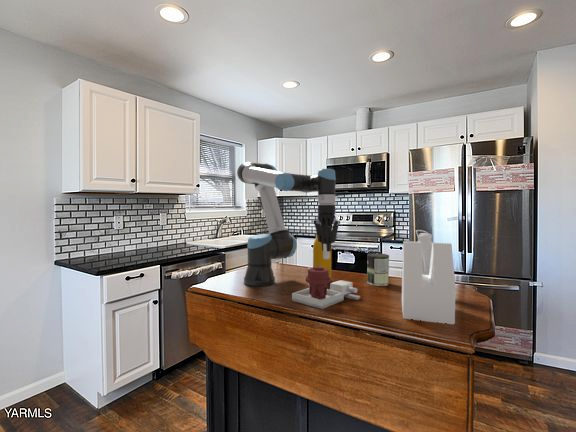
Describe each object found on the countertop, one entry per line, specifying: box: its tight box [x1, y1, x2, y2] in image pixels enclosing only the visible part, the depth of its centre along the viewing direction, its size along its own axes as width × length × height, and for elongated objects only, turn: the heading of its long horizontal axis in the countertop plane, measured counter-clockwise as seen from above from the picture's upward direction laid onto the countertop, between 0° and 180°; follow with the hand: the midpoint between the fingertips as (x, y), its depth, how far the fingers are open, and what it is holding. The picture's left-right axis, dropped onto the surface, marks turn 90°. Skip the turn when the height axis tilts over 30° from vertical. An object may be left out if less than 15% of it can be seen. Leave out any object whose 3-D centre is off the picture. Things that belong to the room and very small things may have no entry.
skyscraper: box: [415, 229, 433, 275], centre depth 132 cm, size 8×8×28 cm
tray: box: [291, 287, 345, 310], centre depth 121 cm, size 15×15×3 cm
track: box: [344, 293, 361, 301], centre depth 127 cm, size 11×3×1 cm, turn 48°
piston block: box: [329, 279, 358, 295], centre depth 127 cm, size 10×8×4 cm
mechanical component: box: [305, 266, 332, 299], centre depth 121 cm, size 12×10×10 cm
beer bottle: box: [312, 223, 333, 279], centre depth 152 cm, size 9×9×29 cm
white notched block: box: [401, 240, 457, 325], centre depth 108 cm, size 19×15×25 cm
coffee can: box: [366, 252, 390, 287], centre depth 149 cm, size 10×10×14 cm
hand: (326, 258), depth 133 cm, fingers closed
